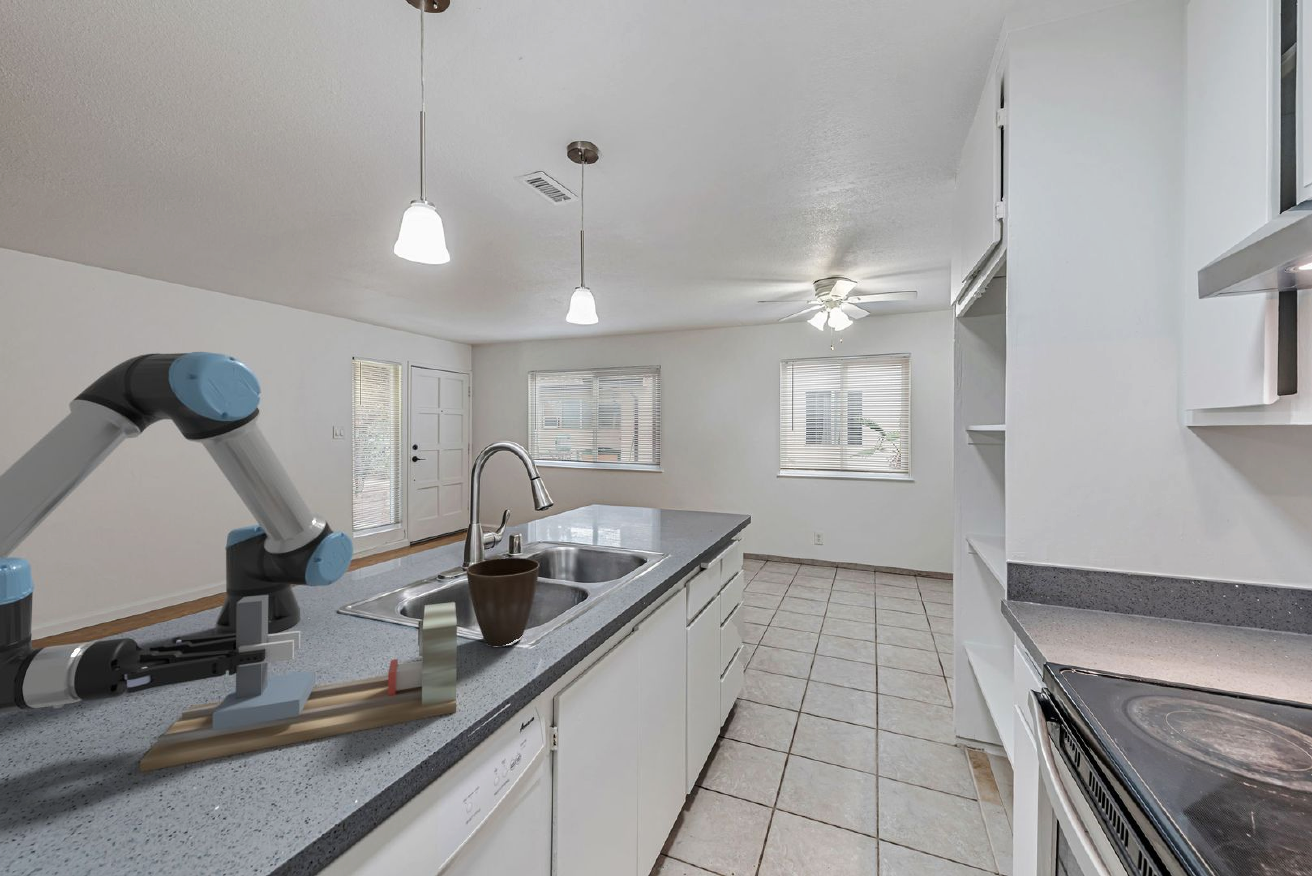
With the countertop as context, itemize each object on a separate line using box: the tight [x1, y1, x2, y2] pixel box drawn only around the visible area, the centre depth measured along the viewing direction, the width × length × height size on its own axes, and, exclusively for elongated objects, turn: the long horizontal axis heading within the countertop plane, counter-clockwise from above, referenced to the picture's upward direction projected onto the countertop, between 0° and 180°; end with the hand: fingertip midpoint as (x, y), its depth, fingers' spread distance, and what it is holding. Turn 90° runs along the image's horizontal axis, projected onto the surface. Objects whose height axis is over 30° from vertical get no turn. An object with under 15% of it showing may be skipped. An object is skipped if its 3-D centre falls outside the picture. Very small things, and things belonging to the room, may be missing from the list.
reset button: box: [387, 658, 422, 696], centre depth 84 cm, size 5×7×4 cm
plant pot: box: [465, 557, 540, 647], centre depth 108 cm, size 15×15×16 cm
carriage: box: [213, 595, 316, 731], centre depth 76 cm, size 10×10×16 cm
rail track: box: [139, 601, 458, 773], centre depth 79 cm, size 14×38×14 cm, turn 113°
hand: (296, 644), depth 77 cm, fingers closed on carriage, 3 cm apart
